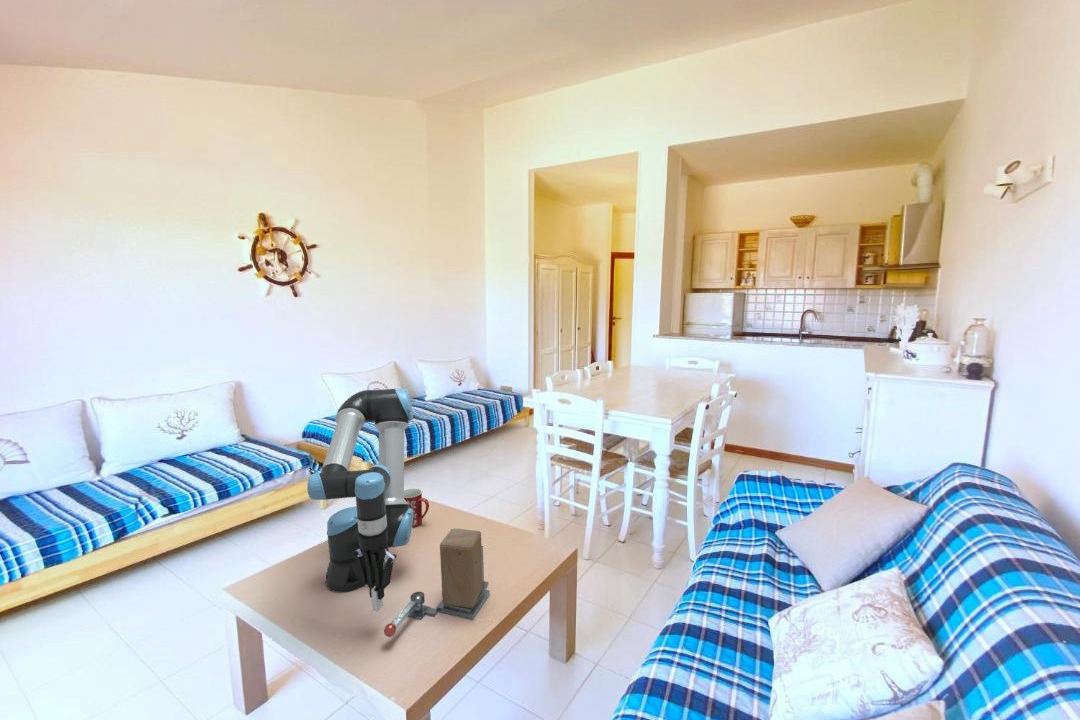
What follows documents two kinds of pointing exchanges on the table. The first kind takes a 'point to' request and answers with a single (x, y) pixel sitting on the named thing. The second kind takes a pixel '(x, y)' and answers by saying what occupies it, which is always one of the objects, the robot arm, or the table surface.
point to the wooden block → (461, 567)
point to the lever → (404, 613)
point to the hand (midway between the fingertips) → (377, 608)
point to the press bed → (454, 610)
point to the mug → (416, 504)
